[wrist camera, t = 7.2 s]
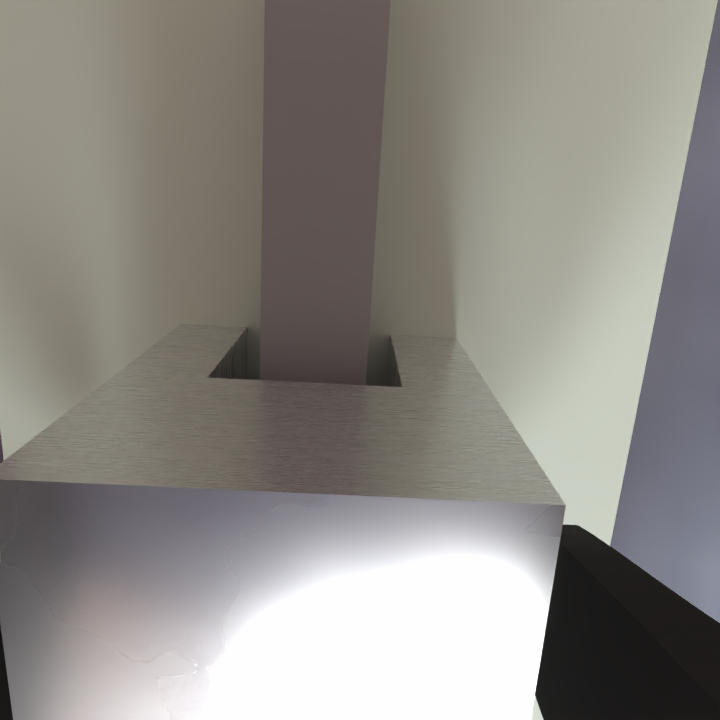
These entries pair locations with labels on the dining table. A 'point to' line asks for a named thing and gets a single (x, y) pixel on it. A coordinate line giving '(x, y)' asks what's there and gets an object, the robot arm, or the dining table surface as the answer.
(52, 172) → the rail plate
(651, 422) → the dining table surface
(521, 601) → the block
